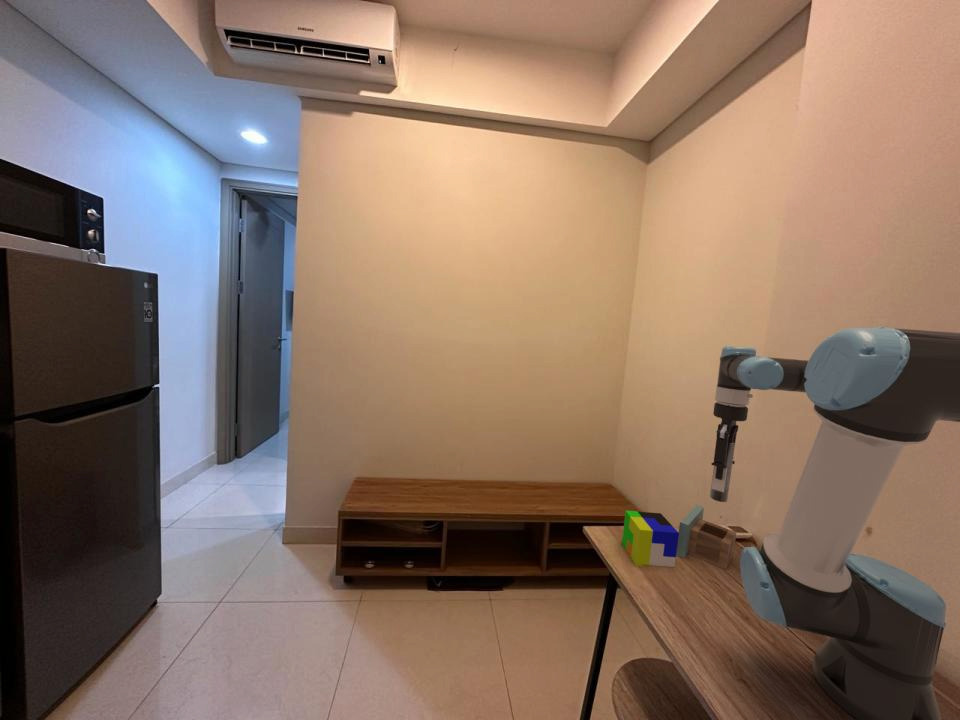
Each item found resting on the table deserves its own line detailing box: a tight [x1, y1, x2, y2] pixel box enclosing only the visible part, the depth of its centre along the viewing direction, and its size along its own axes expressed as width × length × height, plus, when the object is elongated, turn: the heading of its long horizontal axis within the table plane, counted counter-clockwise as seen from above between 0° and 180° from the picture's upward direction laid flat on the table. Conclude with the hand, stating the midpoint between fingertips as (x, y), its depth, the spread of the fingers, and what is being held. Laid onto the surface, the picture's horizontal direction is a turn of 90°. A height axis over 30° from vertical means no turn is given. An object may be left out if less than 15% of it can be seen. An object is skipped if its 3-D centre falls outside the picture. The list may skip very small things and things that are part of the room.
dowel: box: [709, 442, 736, 503], centre depth 100 cm, size 4×4×16 cm
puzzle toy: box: [621, 510, 679, 568], centre depth 100 cm, size 10×10×10 cm
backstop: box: [676, 504, 705, 559], centre depth 100 cm, size 16×19×10 cm
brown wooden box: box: [687, 519, 737, 571], centre depth 102 cm, size 9×9×7 cm
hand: (719, 487), depth 100 cm, fingers closed on dowel, 4 cm apart
